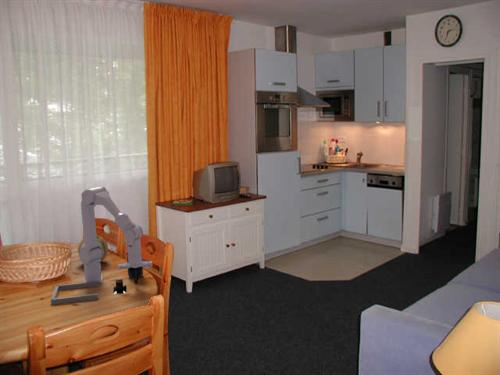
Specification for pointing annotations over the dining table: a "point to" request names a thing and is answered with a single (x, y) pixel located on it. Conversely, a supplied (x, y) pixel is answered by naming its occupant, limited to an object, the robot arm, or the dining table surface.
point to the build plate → (119, 287)
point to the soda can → (135, 270)
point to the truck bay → (74, 298)
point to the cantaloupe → (103, 246)
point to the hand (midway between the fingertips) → (136, 283)
